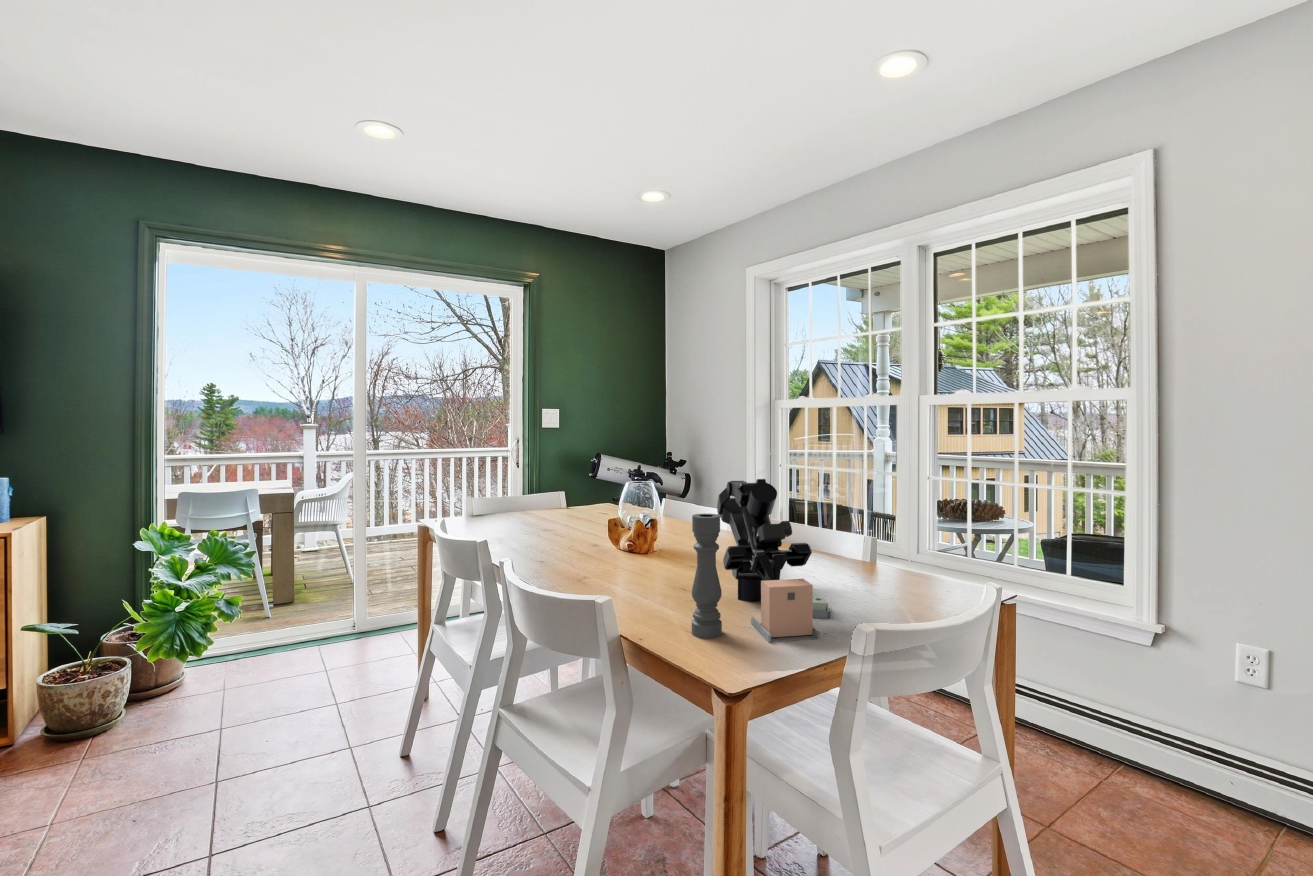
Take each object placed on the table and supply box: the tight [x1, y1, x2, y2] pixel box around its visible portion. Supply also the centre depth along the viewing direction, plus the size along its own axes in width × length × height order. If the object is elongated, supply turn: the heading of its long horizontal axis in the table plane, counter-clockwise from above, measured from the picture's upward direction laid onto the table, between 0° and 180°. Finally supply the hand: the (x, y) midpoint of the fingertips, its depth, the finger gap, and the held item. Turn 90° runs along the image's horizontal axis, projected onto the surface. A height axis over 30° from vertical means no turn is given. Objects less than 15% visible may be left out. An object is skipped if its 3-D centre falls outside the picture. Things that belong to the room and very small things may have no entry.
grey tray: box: [750, 616, 821, 643], centre depth 131 cm, size 11×11×2 cm
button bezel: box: [813, 602, 834, 620], centre depth 143 cm, size 8×8×2 cm
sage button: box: [813, 595, 827, 611], centre depth 143 cm, size 5×5×2 cm
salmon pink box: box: [760, 578, 814, 637], centre depth 129 cm, size 5×9×10 cm, turn 100°
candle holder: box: [691, 513, 723, 640], centre depth 129 cm, size 6×6×25 cm
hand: (776, 590), depth 135 cm, fingers closed
